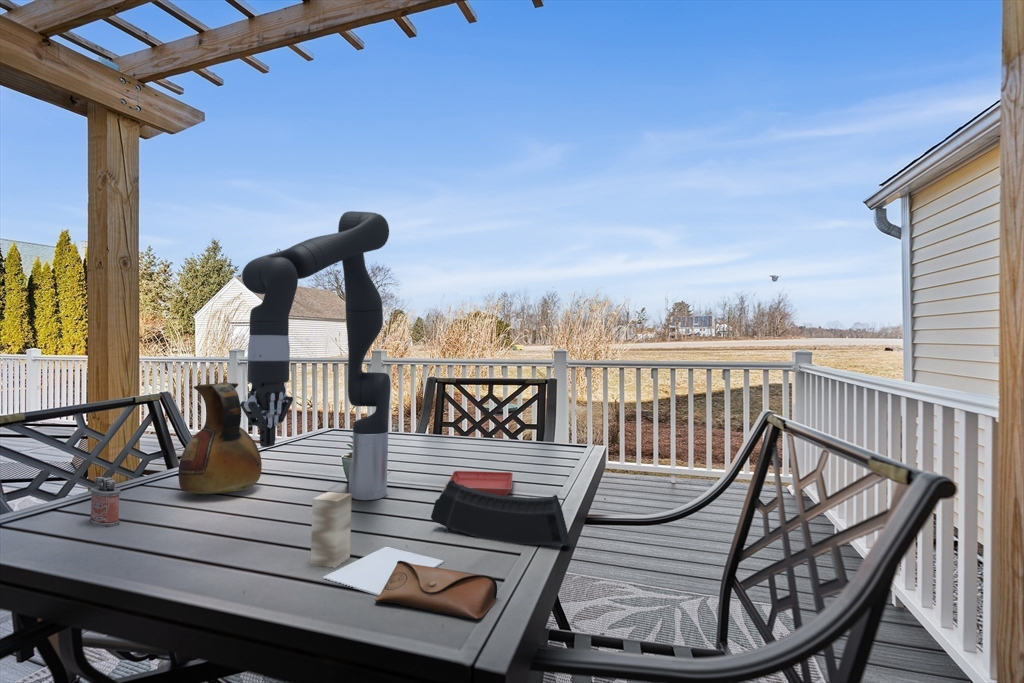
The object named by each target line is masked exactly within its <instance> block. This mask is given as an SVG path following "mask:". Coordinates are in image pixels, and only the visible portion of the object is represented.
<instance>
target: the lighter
mask: <svg viewBox="0 0 1024 683" xmlns="http://www.w3.org/2000/svg"><path fill="white" fill-rule="evenodd" d="M94 483H95V484H97V485H98V486H96V487H91V488H90V493H91V500H90V501H91V505H90V506H91V508H90V517H89V524H90V525H92V526H95V527H99V528H105V529H106V528H110V529H111V528H115V527H117V526H119V525H120V519H119V515H120V514H119V512H120V495H121V489H119V488H116V487H115V486H116V480H114V479H113V478H112V477H111V476H109V477H103V476H96V478H94Z"/></svg>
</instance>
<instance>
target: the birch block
mask: <svg viewBox="0 0 1024 683" xmlns="http://www.w3.org/2000/svg"><path fill="white" fill-rule="evenodd" d="M351 496H352V494H348V493H347V492H346V493H345V492H336V491H335V492H334V491H327V492H323V494H320V495H318V496H316V497H314V498H312V503H311V533H310V534H311V536H310V537H311V541H310V566H313V565H316V566H315V567H321V566H326V567H325V568H330V567H333V568H332V569H336V568H338V567H339V566H340V565H342V564H343V563H345V562H346V561H347V560H348V558H349V557H350V558H351V534H352V533H351V531H352V530H351V528H352V497H351ZM350 558H349V559H350ZM346 559H347V560H346ZM345 560H346V561H345ZM342 562H343V563H342ZM341 563H342V564H341ZM337 566H338V567H337Z"/></svg>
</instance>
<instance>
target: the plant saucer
mask: <svg viewBox="0 0 1024 683" xmlns="http://www.w3.org/2000/svg"><path fill="white" fill-rule="evenodd" d="M513 475H514V473H513V472H510V471H509V472H505V471H504V472H502V471H501V472H500V471H471V470H454V471H453V473H452V474H451V476H450V478H449V480H448V482H449V481H450V480H454V482H455V483H456V484H459V485H464V486H465V487H468V488H471V489H474V490H478V491H482V492H486V493H491V494H496V495H502V496H508V494H510V492H511V491H512V489H513V477H514V476H513ZM448 482H447V483H446V484H448Z"/></svg>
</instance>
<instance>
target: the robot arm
mask: <svg viewBox="0 0 1024 683" xmlns="http://www.w3.org/2000/svg"><path fill="white" fill-rule="evenodd" d="M389 236H390V226H389V223H388V221H387V219H386V218H385V217H384V216H383V215H381V214H380V213H376V212H371V211H357V210H355V211H353V210H351V211H346V212H344V213H343V214H342V215H341V217H340V218H339V222H338V231H337V232H335V233H330V234H325V235H319V236H315V237H311V238H309V239H306V240H303V241H301V242H298V243H296V244H295V245H292V246H291V247H289V248H286V249H283V250H281V251H277V252H273V253H269V254H266V255H262V256H259V257H257V258H254V259H252V260H251V261H248V262H247V263H246V265H245V266H244V268H243V270H242V273H241V280H242V283H243V285H244V286H245V288H247V290H249V291H250V292H252V293H255V294H259V295H264V296H263V299H262V302H261V303H260V304H259V305H256V306H254V307H252V308H251V309H250V315H249V338H248V344H247V370H246V371H247V382H248V383H250V384H251V389H250V391H249V396H250V397H249V398H248V399H247V400H246V401H245V400H244V401H240V406H241V410H242V411H243V413H244V414H245V416H246V418H247V419H248V421H249V423H250V425H251V426H255V427H258V428H259V445H260V447H262V448H270V447H274V446H275V445H276V434H277V433H276V427H278V426H279V424H280V423H283V422H284V420H285V418H286V416H287V414H288V412H289V410H290V407H291V406H292V404H293V401H294V398H293V396H289V395H287V394H286V392H287V391H286V387H285V383H288V382H289V381H290V357H291V356H290V353H291V350H290V347H291V346H290V340H289V339H290V338H289V330H290V329H289V328H290V327H289V326H290V325H289V324H290V322H289V317H290V314H291V310H292V306H293V304H294V301H295V295H296V293H297V289H298V284H299V283H298V282H299V280H301V279H302V280H303V279H306V278H308V277H311V276H313V275H315V274H316V273H318V272H320V271H322V270H324V269H326V268H328V267H330V266H332V265H335V264H337V263H339V262H341V264H342V269H343V270H342V271H343V282H344V294H345V295H344V296H345V324H346V331H347V332H346V334H347V336H346V337H347V348H348V349H347V353H348V354H347V355H348V356H347V357H348V360H347V361H348V363H347V364H348V365H347V371H348V372H347V396H348V397H347V398H348V401H349V404H350V405H351V406H353V407H372V408H373V407H375V411H374V412H373V413H372V414H370V415H368V416H366V417H363V418H359V419H357V420H355V421H354V422H353V424H352V456H351V459H350V460H349V462H348V464H349V465H348V468H349V469H348V494H352V496H351V499H353V500H359V501H372V500H373V501H374V500H379V499H383V498H385V497H387V494H388V457H389V453H388V452H389V449H388V448H389V416H390V414H389V412H390V400H391V399H390V398H391V388H392V387H391V386H392V385H391V378H390V375H389V374H388V373H386V372H376V371H375V372H371V371H370V372H367V371H365V372H364V371H363V363H364V360H365V357H366V356H367V354H368V351H369V349H370V348H371V346H372V345H373V344H374V342H375V340H376V339H377V338H378V336H379V335H380V333H381V330H382V328H383V325H384V318H383V317H384V316H383V312H384V311H383V300H382V297H381V294H380V293H379V290H378V289H377V287H376V285H375V283H374V281H373V280H372V278H371V277H370V274H369V271H368V270H367V268H366V267H367V266H366V263H365V253H368V252H373V251H377V250H379V249H382V248H383V247H384V246H385V245H386V244H387V242H388V240H389Z"/></svg>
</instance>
